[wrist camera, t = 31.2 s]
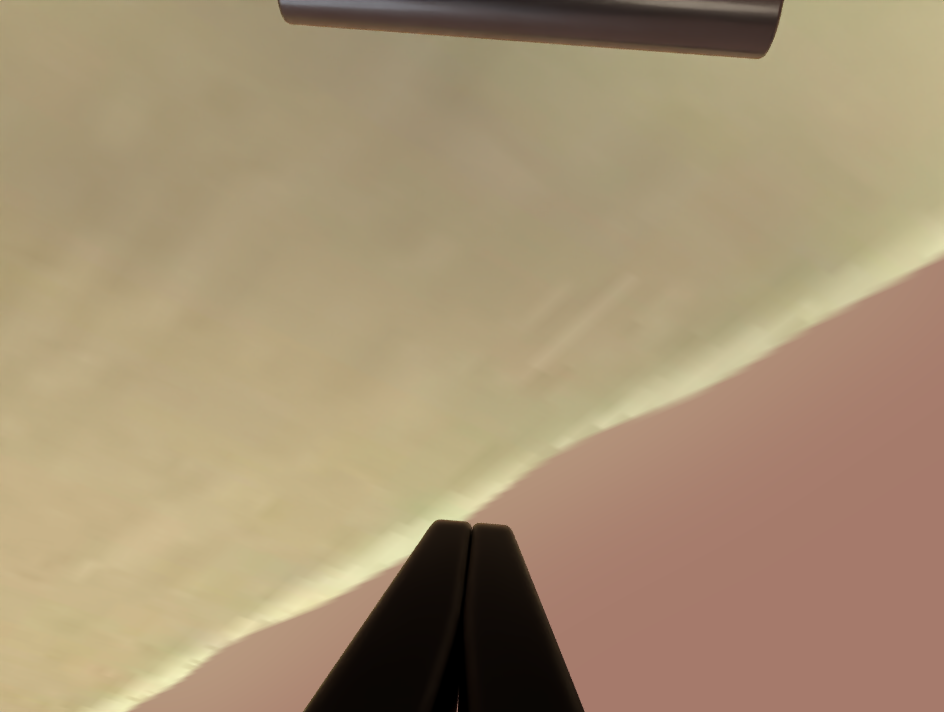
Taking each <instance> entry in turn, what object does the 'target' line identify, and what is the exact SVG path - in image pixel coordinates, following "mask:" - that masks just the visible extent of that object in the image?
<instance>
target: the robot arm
mask: <svg viewBox="0 0 944 712" xmlns="http://www.w3.org/2000/svg"><path fill="white" fill-rule="evenodd" d="M458 695H459V697H458ZM457 704H458V712H584V709H583V707H582V704H581V702H580V699H579V697H578V694H577V692H576V689H575V687H574V684H573V682H572V679H571V677H570V674H569V672H568V669H567V667H566V664H565V662H564V659H563V657H562V654H561V652H560V649H559V647H558V644H557V642H556V639H555V637H554V634H553V632H552V629H551V627H550V624H549V622H548V619H547V617H546V614H545V612H544V609H543V606H542V604H541V602H540V599H539V596H538V594H537V592H536V589H535V587H534V584H533V582H532V579H531V577H530V574H529V572H528V569H527V566H526V564H525V561H524V559H523V556H522V554H521V551H520V549H519V546H518V544H517V541H516V539H515V536H514V534H513V532H512V530H511V529H510V528H509V527H508V526H506V525H499V524H487V523H477V524H475V525H474V526H473V529H472V527H471V525H470V524H469V523H468V522H464V521H453V520H437V521H435V522H434V523H433V524H432V525H431V526H430V527H429V529H428V530H427V532H426V533H425V535H424V536H423V538H422V539H421V541H420V542H419V543H418V545H417V546H416V548H415V549H414V551H413V552H412V554H411V555H410V557H409V558H408V560H407V561H406V562H405V564H404V565H403V567H402V568H401V570H400V571H399V573H398V574H397V576H396V577H395V578H394V580H393V582H392V583H391V585H390V586H389V587H388V589H387V590H386V592H385V593H384V594H383V596H382V597H381V599H380V600H379V602H378V603H377V605H376V607H375V608H374V609H373V611H372V612H371V613H370V615H369V617H368V618H367V619H366V621H365V622H364V624H363V625H362V627H361V628H360V630H359V631H358V632H357V634H356V635H355V637H354V638H353V640H352V641H351V643H350V644H349V646H348V647H347V649H346V650H345V651H344V653H343V655H342V656H341V657H340V659H339V660H338V662H337V663H336V664H335V666H334V667H333V669H332V670H331V672H330V673H329V675H328V676H327V678H326V679H325V681H324V682H323V683H322V685H321V686H320V688H319V689H318V691H317V692H316V694H315V695H314V697H313V698H312V699H311V701H310V703H309V704H308V705H307V707H306V708H305V710H304V711H303V712H457Z"/></svg>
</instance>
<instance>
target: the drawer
mask: <svg viewBox="0 0 944 712" xmlns="http://www.w3.org/2000/svg"><path fill="white" fill-rule="evenodd" d="M783 1H784V0H278V4H279V8H280V11H281V14H282V17H283V18H284V20H285V21H286V22H287V23H289V24H293V25H307V26H320V27H333V28H347V29H360V30H374V31H387V32H401V33H414V34H428V35H441V36H454V37H468V38H481V39H495V40H508V41H522V42H535V43H549V44H562V45H575V46H589V47H602V48H616V49H629V50H643V51H656V52H669V53H683V54H696V55H710V56H723V57H737V58H750V59H760V58H762V57H764V56H765V55H766V53H767V52H768V50H769V48H770V46H771V44H772V42H773V39H774V37H775V34H776V31H777V28H778V24H779V20H780V16H781V12H782V7H783Z"/></svg>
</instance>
